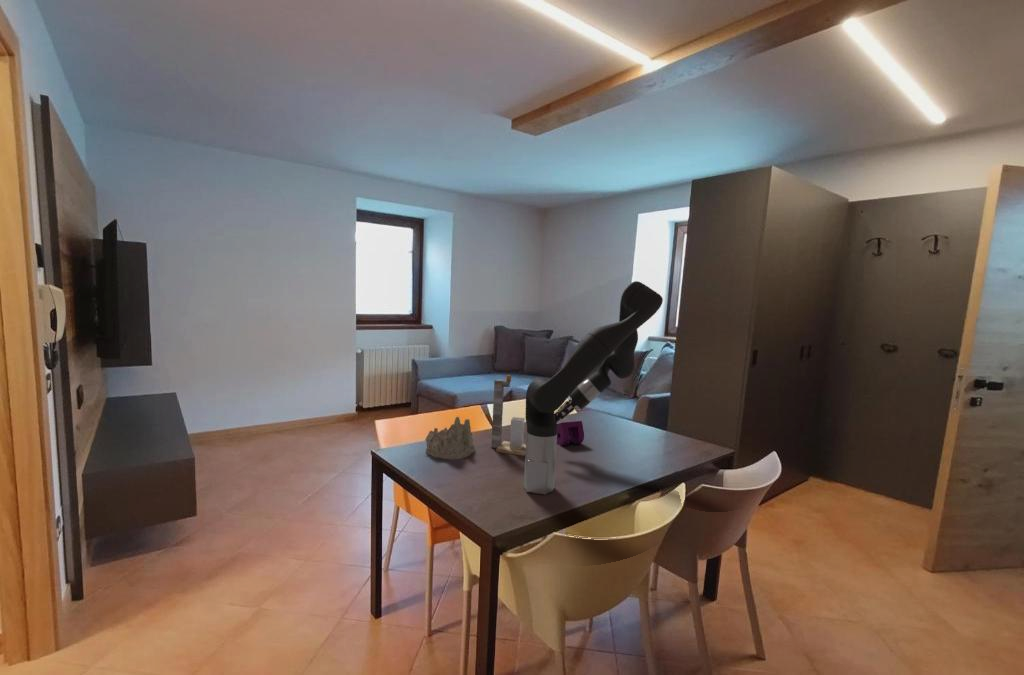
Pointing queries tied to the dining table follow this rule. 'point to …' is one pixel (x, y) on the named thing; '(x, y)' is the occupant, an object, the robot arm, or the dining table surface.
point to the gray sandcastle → (451, 441)
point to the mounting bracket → (570, 432)
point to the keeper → (497, 419)
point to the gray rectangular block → (517, 433)
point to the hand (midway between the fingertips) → (551, 421)
